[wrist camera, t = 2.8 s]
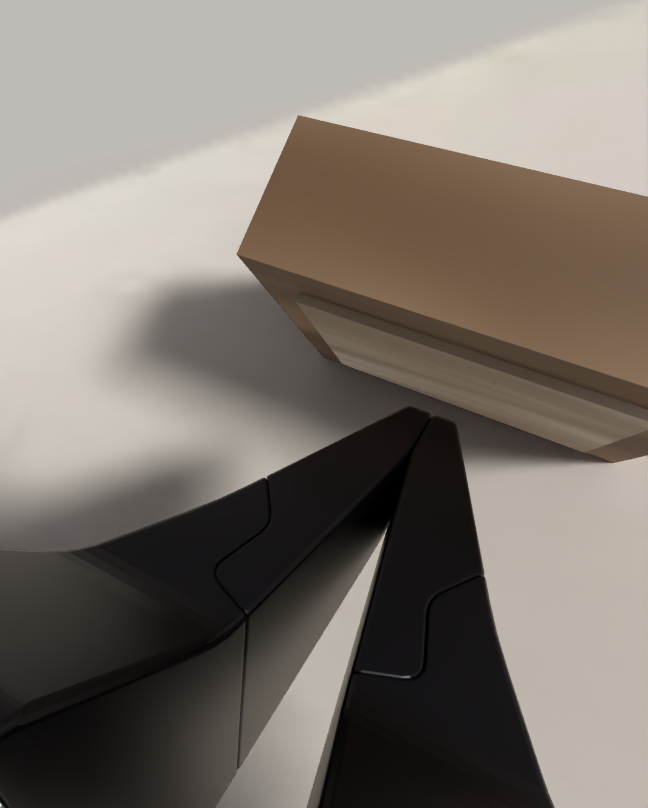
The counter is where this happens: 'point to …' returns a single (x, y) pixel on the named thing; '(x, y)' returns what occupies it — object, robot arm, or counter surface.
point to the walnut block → (464, 281)
